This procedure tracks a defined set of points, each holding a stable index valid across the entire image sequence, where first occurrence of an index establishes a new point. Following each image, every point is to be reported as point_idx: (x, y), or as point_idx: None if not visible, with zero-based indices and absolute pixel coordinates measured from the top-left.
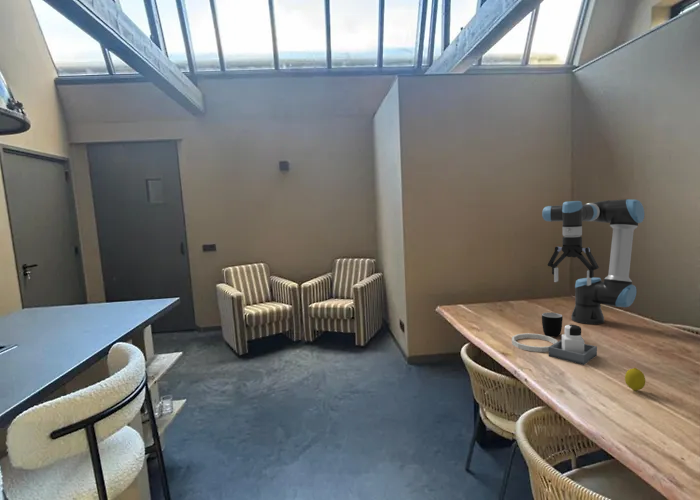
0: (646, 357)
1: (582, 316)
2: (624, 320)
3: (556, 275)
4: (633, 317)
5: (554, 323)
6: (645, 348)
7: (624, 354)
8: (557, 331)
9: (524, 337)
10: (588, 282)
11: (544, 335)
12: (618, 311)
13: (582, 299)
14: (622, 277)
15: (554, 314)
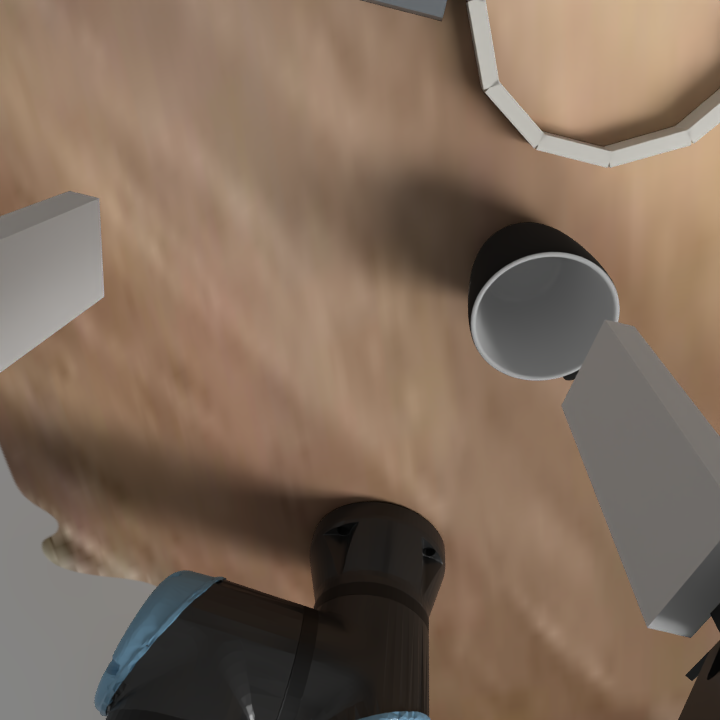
0: (38, 103)
1: (390, 533)
2: (252, 583)
3: (632, 415)
4: None
5: (516, 242)
6: None
7: (128, 95)
8: (490, 241)
9: (701, 106)
10: (37, 204)
11: (567, 154)
12: None
13: (386, 624)
14: None
15: (526, 370)
